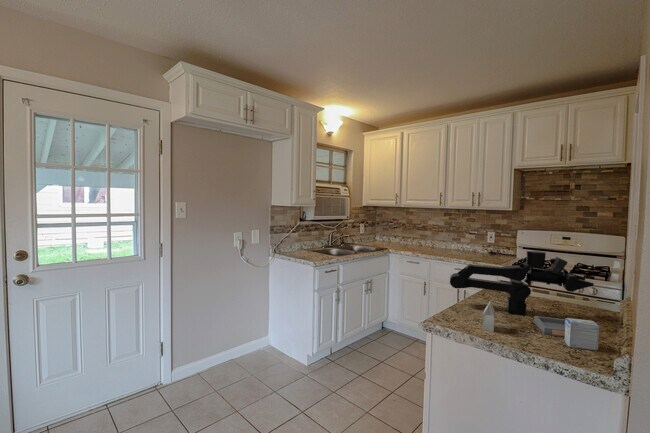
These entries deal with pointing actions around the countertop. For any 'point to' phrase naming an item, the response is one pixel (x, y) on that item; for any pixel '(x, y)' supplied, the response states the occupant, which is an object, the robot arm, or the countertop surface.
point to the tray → (551, 325)
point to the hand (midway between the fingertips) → (589, 281)
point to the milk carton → (489, 318)
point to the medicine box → (581, 334)
